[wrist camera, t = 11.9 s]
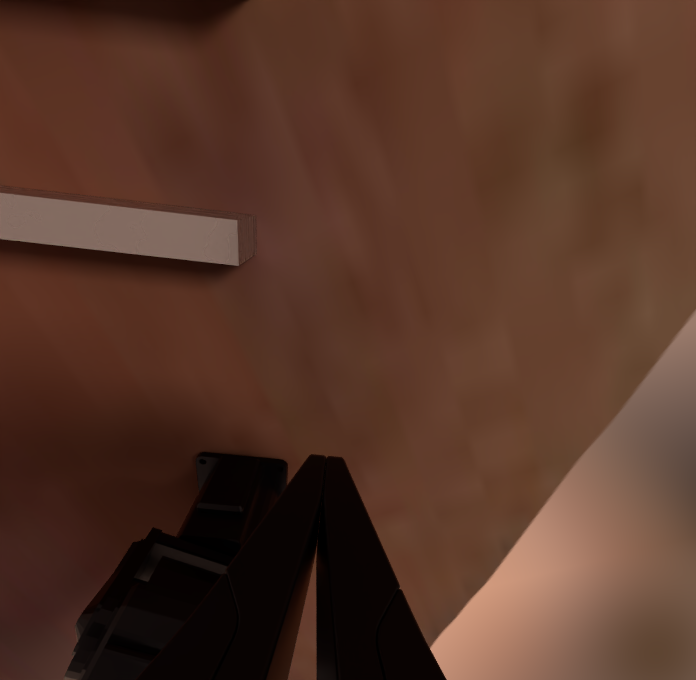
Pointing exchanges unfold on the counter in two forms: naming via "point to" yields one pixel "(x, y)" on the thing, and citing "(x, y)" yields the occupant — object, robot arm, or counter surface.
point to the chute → (126, 226)
